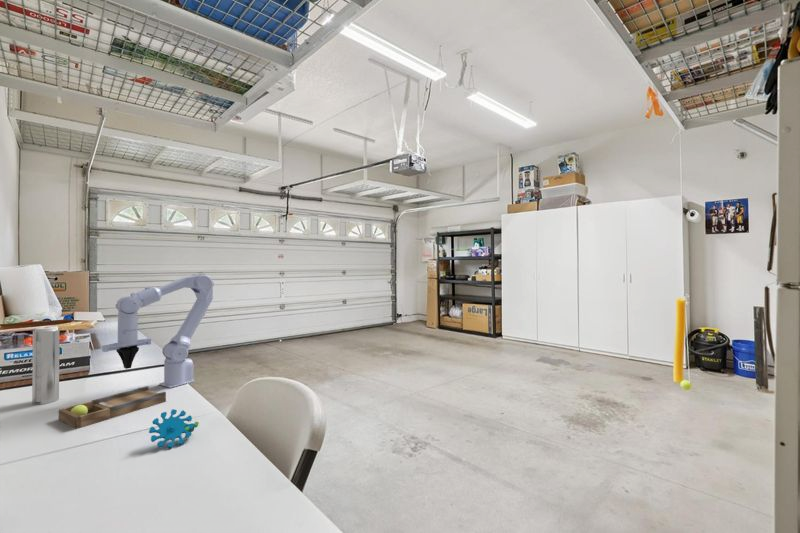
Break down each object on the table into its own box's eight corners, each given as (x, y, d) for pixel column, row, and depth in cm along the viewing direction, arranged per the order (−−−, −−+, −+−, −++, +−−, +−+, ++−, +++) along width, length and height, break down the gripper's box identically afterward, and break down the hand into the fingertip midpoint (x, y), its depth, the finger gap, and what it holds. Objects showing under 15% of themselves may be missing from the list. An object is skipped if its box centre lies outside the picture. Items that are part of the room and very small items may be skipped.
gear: (146, 448, 88) (152, 409, 95) (144, 458, 91) (149, 420, 98) (197, 443, 94) (199, 406, 101) (193, 452, 97) (196, 416, 104)
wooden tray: (146, 395, 129) (146, 386, 129) (165, 401, 123) (165, 391, 123) (58, 419, 108) (58, 409, 108) (76, 428, 102) (76, 417, 102)
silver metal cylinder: (27, 403, 121) (28, 328, 121) (52, 396, 127) (53, 325, 127) (38, 405, 118) (39, 329, 118) (63, 399, 124) (63, 326, 124)
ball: (83, 403, 111) (67, 406, 107) (91, 403, 110) (75, 406, 106) (82, 416, 111) (66, 420, 107) (90, 417, 109) (74, 421, 105)
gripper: (144, 326, 138) (143, 361, 138) (98, 332, 125) (97, 371, 125) (154, 327, 134) (154, 364, 134) (107, 334, 122) (107, 374, 122)
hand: (127, 367), depth 130 cm, fingers closed
